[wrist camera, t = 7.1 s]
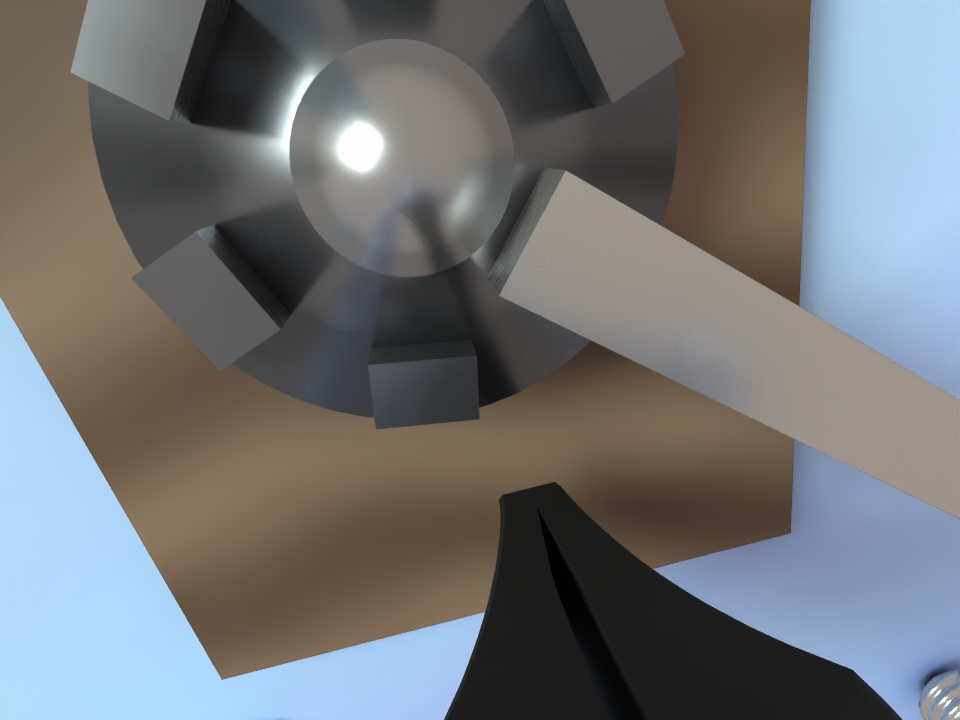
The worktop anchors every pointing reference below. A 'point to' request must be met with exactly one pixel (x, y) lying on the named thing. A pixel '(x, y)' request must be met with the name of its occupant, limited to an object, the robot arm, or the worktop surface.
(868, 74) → the worktop surface
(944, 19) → the worktop surface
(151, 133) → the handled metal disc
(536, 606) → the robot arm
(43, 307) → the walnut base
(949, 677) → the light bulb
